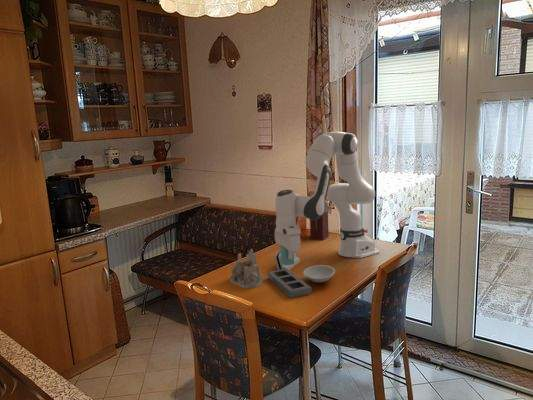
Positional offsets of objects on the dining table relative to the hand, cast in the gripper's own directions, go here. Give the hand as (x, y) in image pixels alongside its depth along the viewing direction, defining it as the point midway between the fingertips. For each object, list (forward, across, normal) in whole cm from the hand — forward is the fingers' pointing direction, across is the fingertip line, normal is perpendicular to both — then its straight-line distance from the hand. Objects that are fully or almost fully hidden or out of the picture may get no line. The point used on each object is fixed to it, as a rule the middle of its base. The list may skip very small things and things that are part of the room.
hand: (287, 256), depth 186 cm
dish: (+14, +2, +15) cm, 20 cm away
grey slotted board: (+14, 0, 0) cm, 14 cm away
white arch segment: (+14, -25, +11) cm, 31 cm away
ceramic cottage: (+14, -14, -16) cm, 25 cm away
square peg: (+3, 0, 0) cm, 3 cm away
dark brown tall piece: (+13, -61, +48) cm, 79 cm away
